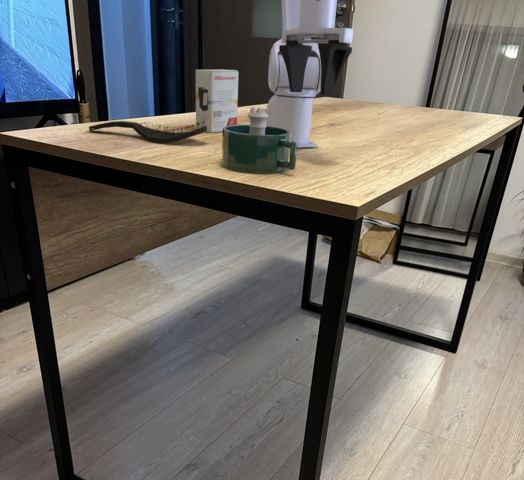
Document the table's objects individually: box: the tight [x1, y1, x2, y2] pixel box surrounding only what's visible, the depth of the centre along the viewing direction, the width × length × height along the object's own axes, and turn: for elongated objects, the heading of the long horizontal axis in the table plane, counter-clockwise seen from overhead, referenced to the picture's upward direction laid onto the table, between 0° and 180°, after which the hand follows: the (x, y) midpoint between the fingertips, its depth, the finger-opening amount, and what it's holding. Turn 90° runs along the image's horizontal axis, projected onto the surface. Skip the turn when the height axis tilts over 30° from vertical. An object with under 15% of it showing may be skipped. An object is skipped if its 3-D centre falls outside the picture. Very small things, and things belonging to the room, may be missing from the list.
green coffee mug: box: [221, 124, 298, 174], centre depth 84 cm, size 14×11×6 cm
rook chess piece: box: [247, 107, 268, 135], centre depth 84 cm, size 4×4×8 cm
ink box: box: [195, 69, 239, 134], centre depth 114 cm, size 9×5×12 cm, turn 141°
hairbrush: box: [88, 120, 207, 144], centre depth 103 cm, size 8×4×25 cm
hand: (310, 93), depth 89 cm, fingers open, 7 cm apart
